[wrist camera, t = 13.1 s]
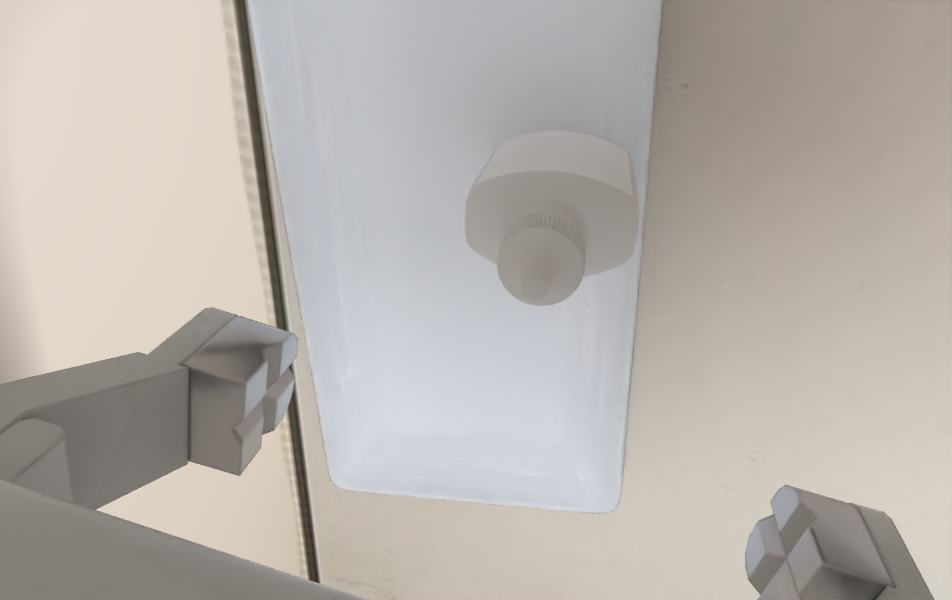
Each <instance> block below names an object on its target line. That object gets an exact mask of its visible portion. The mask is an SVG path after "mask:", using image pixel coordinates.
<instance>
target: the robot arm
mask: <svg viewBox="0 0 952 600" xmlns="http://www.w3.org/2000/svg"><path fill="white" fill-rule="evenodd" d="M297 349H298V338H297V337H296V335H295V334H294V333H291V332H288V331H285V330H281V329H278V328H275V327H272V326H269V325H266V324H263V323H260V322H257V321H254V320H251V319H248V318H245V317H242V316H238V315H236V314H232V313H229V312H226V311H222V310H219V309H216V308H206V309H204V310H202V311H201V312H200V313H199V314H197V315H196V316H195V317H194V318H192V319H191V320H190V321H189V322H188V323H186V324H185V325H184V326H182V327H181V328H180V329H179V330H177V331H176V332H175V333H174V334H173V335H171V336H170V337H169V338H167V339H166V340H165V341H164V342H163V343H161V344H160V345H159V346H158V347H156V348H155V349H154V350H153V351H152V352H150V353H149V354H148V355H146V354H143V353H140V352H137V353H132V354H128V355H124V356H119V357H116V358H111V359H106V360H102V361H98V362H94V363H89V364H85V365H81V366H77V367H72V368H68V369H64V370H59V371H55V372H51V373H46V374H42V375H38V376H34V377H29V378H25V379H21V380H16V381H12V382H8V383H3V384H0V600H368V599H365V598H361V597H358V596H355V595H352V594H349V593H346V592H343V591H340V590H337V589H334V588H331V587H328V586H325V585H322V584H319V583H316V582H313V581H310V580H307V579H304V578H301V577H298V576H294V575H292V574H289V573H286V572H282V571H279V570H276V569H273V568H270V567H267V566H264V565H261V564H258V563H255V562H252V561H249V560H246V559H243V558H240V557H237V556H234V555H231V554H228V553H225V552H222V551H219V550H216V549H213V548H210V547H206V546H203V545H200V544H197V543H194V542H191V541H188V540H185V539H182V538H179V537H176V536H173V535H170V534H167V533H164V532H161V531H158V530H155V529H152V528H149V527H146V526H143V525H140V524H137V523H133V522H131V521H127V520H124V519H121V518H118V517H115V516H112V515H109V514H106V513H103V512H100V511H97V510H96V509H98V508H100V507H102V506H104V505H106V504H108V503H110V502H112V501H114V500H116V499H118V498H120V497H122V496H124V495H126V494H128V493H130V492H132V491H134V490H136V489H138V488H140V487H142V486H144V485H146V484H148V483H150V482H152V481H154V480H156V479H158V478H160V477H162V476H164V475H166V474H168V473H170V472H172V471H174V470H176V469H178V468H181V467H182V466H185V465H187V464H188V461H190V462H193V463H197V464H200V465H204V466H208V467H211V468H214V469H218V470H221V471H224V472H228V473H231V474H235V475H239V476H240V475H241V474H242V472H243V471H244V469H245V468H246V467H247V466H248V464H249V463H250V462H251V460H252V459H253V458H254V456H255V455H256V454H257V453H258V451H259V450H260V449H261V441H262V435H263V434H265V433H268V432H271V431H274V430H275V428H276V427H277V425H278V424H279V423H280V421H281V420H282V418H283V416H284V414H285V412H286V410H287V407H288V405H289V403H290V400H291V396H292V392H293V386H294V376H293V374H292V372H291V370H290V369H289V367H288V366H289V365H290V364H291V363H292V362H293V360H294V359H295V358H296V357H297ZM771 506H772V510H773V513H774V514H773V515H771V516H769V517H767V518H764V519H762V520H760V521H758V522H757V524H756V525H755V527H754V529H753V531H752V532H751V534H750V536H749V540H748V544H747V548H746V552H745V562H746V571H747V575H748V580H749V581H750V583H751V584H752V585H753V586H754V587H755V589H756V590H757V591H758V592H759V594H760V595H761V596H760V597H759V599H758V600H934V598H933V596H932V594H931V593H930V591H929V589H928V587H927V585H926V583H925V581H924V579H923V577H922V576H921V574H920V572H919V570H918V568H917V566H916V564H915V562H914V560H913V558H912V557H911V555H910V553H909V551H908V549H907V547H906V545H905V543H904V541H903V540H902V538H901V536H900V534H899V532H898V530H897V528H896V526H895V524H894V523H893V521H892V519H891V518H890V517H889V516H888V515H886V514H885V513H884V512H882V511H878V510H875V509H871V508H868V507H864V506H860V505H857V504H853V503H846V502H843V501H839V500H836V499H833V498H829V497H826V496H822V495H819V494H816V493H812V492H809V491H806V490H802V489H799V488H796V487H792V486H789V485H785V486H783V487H782V488H780V489H779V490H778V491H777V492H776V494H775V495H774V497H773V499H772V500H771Z"/></svg>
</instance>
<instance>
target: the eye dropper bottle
mask: <svg viewBox="0 0 952 600" xmlns="http://www.w3.org/2000/svg"><path fill="white" fill-rule="evenodd" d="M639 214H640V210H639V200H638V193H637V186H636V179H635V173H634V166H633V161H632V155H631V154H630V153H629V151H628V150H627V149H626V148H624V147H623V146H621V145H619V144H617V143H615V142H613V141H611V140H609V139H607V138H604V137H601V136H599V135H596V134H592V133H588V132H584V131H579V130H572V129H543V130H535V131H530V132H526V133H522V134H519V135H516V136H513V137H510V138H508V139H506V140H504V141H503V142H501V143H500V144H499V145H498V146H497V148H496V149H495V151H494V152H493V154H492V155H491V157H490V158H489V160H488V161H487V163H486V164H485V166H484V167H483V169H482V170H481V172H480V174H479V175H478V177H477V178H476V180H475V182H474V183H473V185H472V187H471V189H470V191H469V194H468V196H467V200H466V208H465V237H466V240H467V243H468V245H469V246H470V248H471V249H472V250H473V251H474V252H476V253H477V254H479V255H480V256H482V257H483V258H485V259H487V260H489V261H490V262H492V263H494V264H496V265H497V269H498V271H497V272H498V274H499V275H498V276H499V277H500V281H501V282H502V285H504V288H506V289H507V291H508V292H510V294H511V295H513V297H515V298H516V299H517V300H520V301H521V302H524V303H528V304H529V305H531V304H532V305H533V306H534V305H536V306H548V305H552V304H555V305H556V303H560V301H564V299H568V297H570V296H571V294H574V291H576V290H577V288H578V287H579V285H580V283H581V281H582V279H583V277H585V276H590V275H595V274H599V273H602V272H605V271H608V270H612V269H614V268H617V267H619V266H621V265H623V264H624V263H626V262H627V261H628V260H630V258H631V256H632V254H633V252H634V248H635V243H636V237H637V231H638V224H639Z"/></svg>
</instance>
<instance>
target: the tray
mask: <svg viewBox="0 0 952 600" xmlns="http://www.w3.org/2000/svg"><path fill="white" fill-rule="evenodd" d="M247 4H248V10H249V17H250V23H251V29H252V35H253V41H254V47H255V53H256V59H257V65H258V72H259V78H260V83H261V89H262V95H263V101H264V107H265V113H266V119H267V125H268V130H269V136H270V142H271V148H272V154H273V160H274V166H275V172H276V178H277V183H278V189H279V195H280V201H281V206H282V212H283V218H284V224H285V229H286V235H287V241H288V246H289V252H290V258H291V263H292V269H293V274H294V280H295V285H296V291H297V296H298V302H299V308H300V313H301V319H302V324H303V330H304V336H305V341H306V347H307V353H308V358H309V364H310V370H311V375H312V381H313V386H314V392H315V397H316V403H317V410H318V416H319V422H320V428H321V434H322V440H323V445H324V451H325V458H326V464H327V469H328V473H329V477H330V479H331V481H332V483H333V484H334V485H335V486H336V487H338V488H340V489H343V490H347V491H353V492H362V493H372V494H384V495H397V496H409V497H420V498H430V499H441V500H452V501H462V502H472V503H481V504H491V505H501V506H513V507H524V508H535V509H545V510H556V511H566V512H578V513H591V514H602V513H610V512H613V511H615V510H616V508H617V507H618V505H619V503H620V498H621V492H622V482H623V472H624V457H625V443H626V431H627V419H628V407H629V396H630V384H631V373H632V362H633V351H634V340H635V328H636V317H637V305H638V294H639V282H640V271H641V259H642V247H643V235H644V222H645V209H646V196H647V185H648V173H649V160H650V147H651V135H652V122H653V110H654V98H655V86H656V75H657V64H658V53H659V42H660V31H661V20H662V9H663V0H247ZM543 129H572V130H579V131H584V132H588V133H592V134H596V135H599V136H601V137H604V138H607V139H609V140H611V141H613V142H615V143H617V144H619V145H621V146H623V147H624V148H626V149H627V150H628V151H629V153H630V154H631V155H632V161H633V166H634V173H635V179H636V186H637V193H638V200H639V210H640V214H639V224H638V231H637V237H636V243H635V248H634V252H633V254H632V256H631V258H630V260H628V261H627V262H626V263H624V264H623V265H621V266H619V267H617V268H614V269H612V270H608V271H605V272H602V273H599V274H595V275H590V276H585V277H583V279H582V281H581V283H580V285H579V287H578V288H577V290H576V291H574V294H571V296H570V297H568V299H564V301H560V303H556V305H555V304H552V305H548V306H536V305H534V306H533V305H532V304H531V305H529V304H528V303H524V302H521V301H520V300H517V299H516V298H515V297H513V295H511V294H510V292H508V291H507V289H506V288H504V285H502V282H501V281H500V277H499V276H498V275H499V274H498V272H497V271H498V269H497V265H496V264H494V263H492V262H490V261H489V260H487V259H485V258H483V257H482V256H480V255H479V254H477V253H476V252H474V251H473V250H472V249H471V248H470V246H469V245H468V243H467V240H466V237H465V208H466V200H467V196H468V194H469V191H470V189H471V187H472V185H473V183H474V182H475V180H476V178H477V177H478V175H479V174H480V172H481V170H482V169H483V167H484V166H485V164H486V163H487V161H488V160H489V158H490V157H491V155H492V154H493V152H494V151H495V149H496V148H497V146H498V145H499V144H500V143H501V142H503V141H504V140H506V139H508V138H510V137H513V136H516V135H519V134H522V133H526V132H530V131H535V130H543Z"/></svg>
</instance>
